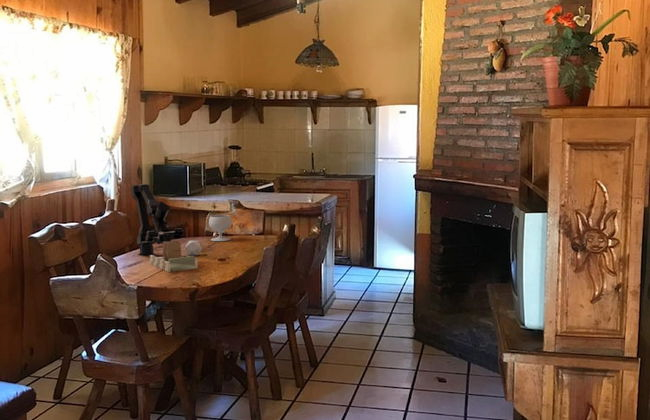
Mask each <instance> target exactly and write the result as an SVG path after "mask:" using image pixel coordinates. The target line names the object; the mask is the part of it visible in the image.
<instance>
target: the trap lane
mask: <svg viewBox="0 0 650 420" xmlns="http://www.w3.org/2000/svg"><path fill="white" fill-rule="evenodd" d="M149 265H151V266H154V267H156V268H158V269H160V270H162V269H163V270H162V271H164V270H165V271H164V272H166V271H167V272H166V273H170V272H171V271H173V272H178V271H180V272H181V271H187V270H194V269H198V258H196V256H188V254H186V253H185V254H184V253H183V252H181V258H173V259H169V262H168V261H165V260H163V256H155V255H154V254H151V255H149ZM171 273H172V272H171Z"/></svg>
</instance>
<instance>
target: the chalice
mask: <svg viewBox="0 0 650 420" xmlns="http://www.w3.org/2000/svg"><path fill="white" fill-rule="evenodd" d="M232 224H233V222H232V218H231V215H229V214H214V215H213V214H212V215H210V217H209V219H208V226H209V227H210V229H213V230H215V231H216V232H217V233H218V236H217V237H213V238H211V239H210V241H212V242H226V241H231V238H230V237H225V236H223V233H224V231H226V230H228V229H229V228H231V226H232Z"/></svg>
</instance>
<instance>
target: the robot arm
mask: <svg viewBox="0 0 650 420" xmlns="http://www.w3.org/2000/svg"><path fill="white" fill-rule="evenodd" d="M129 191H130V194H131V197H132V199H133V200H135V202H136V206H137V212H138V217H139V223H140V228H139V231H138V235H137V237H136V243H137V244H138V245H139V253H138V255H139V256H150V255H155V253H156V252H154V245H153V244H155V243H156V244H157V245H163V242H168V241H173V239H174V240H178V239H179V240H180V239H181V238H182V237H183V234H184V228H180V227H179V228H174V230H173V231H171V228H170V227H169V226H168V221H166V219H165V218H166V217H167V215H168V213H169V211H170V206H169V205H168V204H167V203H165V202H164V201H158V200H157V199H156V198H155V197H154V194H153V193H152V190H151V189H150V185H149V184H148V183H145V184H143V183H141V184H132V185H131V187H130V190H129ZM149 216H152V220H151V221H152V223H154V226H153V225H151V224H150V220H149Z"/></svg>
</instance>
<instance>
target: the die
mask: <svg viewBox="0 0 650 420" xmlns="http://www.w3.org/2000/svg"><path fill="white" fill-rule="evenodd" d="M201 246H202V245H201V243H200V241H199V240H188V241H187V243H186V245H185V247H184V248H185V251H186V254H187V255H188V256H195V257H197V256H199V254H200V253H201V251H202V249H203V248H202V247H201Z"/></svg>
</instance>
